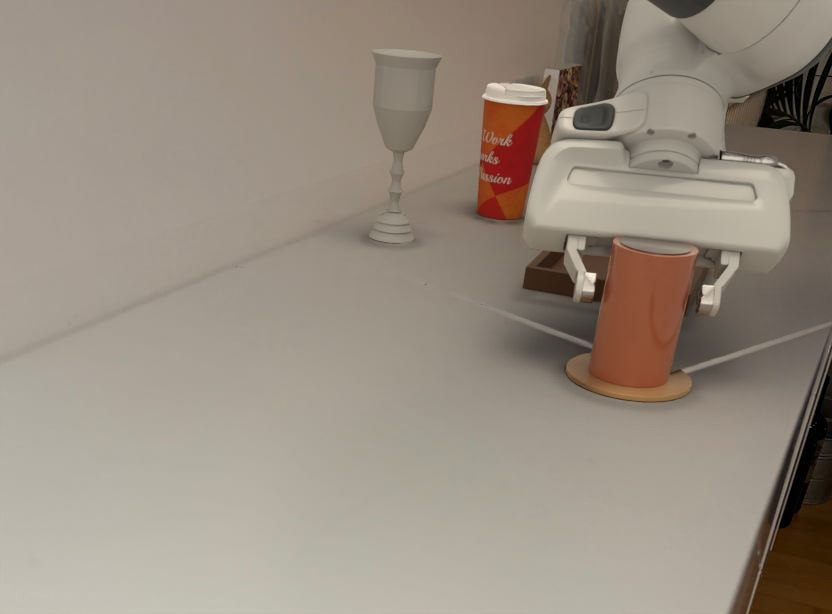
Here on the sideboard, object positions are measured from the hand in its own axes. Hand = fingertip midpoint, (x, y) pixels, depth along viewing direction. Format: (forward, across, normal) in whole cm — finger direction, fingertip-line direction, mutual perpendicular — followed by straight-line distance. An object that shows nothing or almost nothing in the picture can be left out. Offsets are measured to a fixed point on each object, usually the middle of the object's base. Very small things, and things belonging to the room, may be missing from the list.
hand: (644, 305), depth 83 cm
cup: (+4, 0, -4) cm, 6 cm away
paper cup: (-34, +13, -43) cm, 56 cm away
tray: (-17, -1, -25) cm, 30 cm away
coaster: (+4, 0, -5) cm, 6 cm away
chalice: (-22, +24, -31) cm, 45 cm away
